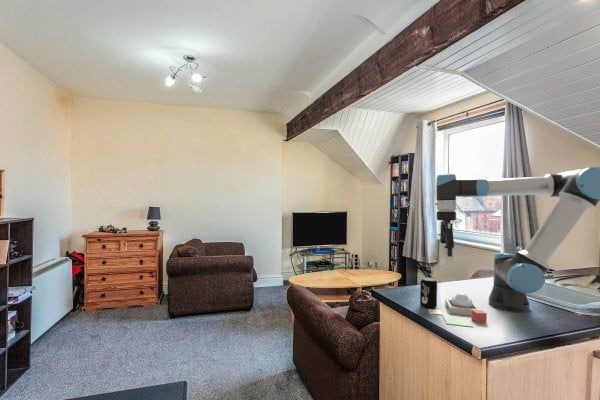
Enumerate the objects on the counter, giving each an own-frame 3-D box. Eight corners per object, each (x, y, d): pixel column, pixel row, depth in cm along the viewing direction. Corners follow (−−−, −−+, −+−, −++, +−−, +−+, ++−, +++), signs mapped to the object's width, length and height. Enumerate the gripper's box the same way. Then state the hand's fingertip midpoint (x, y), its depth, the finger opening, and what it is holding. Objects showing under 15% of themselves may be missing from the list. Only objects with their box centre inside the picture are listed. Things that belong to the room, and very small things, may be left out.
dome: (469, 303, 136) (470, 291, 136) (474, 309, 129) (474, 296, 129) (450, 301, 138) (450, 289, 138) (453, 307, 131) (453, 294, 131)
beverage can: (438, 310, 134) (438, 281, 133) (421, 308, 135) (422, 280, 135) (434, 304, 140) (435, 277, 140) (418, 303, 141) (419, 276, 141)
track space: (440, 311, 132) (440, 310, 132) (442, 315, 127) (442, 314, 127) (427, 309, 134) (427, 308, 134) (429, 313, 129) (429, 312, 129)
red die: (481, 319, 124) (481, 309, 124) (486, 323, 120) (486, 313, 120) (471, 319, 124) (472, 309, 124) (476, 322, 120) (476, 312, 120)
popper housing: (473, 307, 137) (473, 301, 137) (479, 316, 127) (479, 310, 127) (445, 304, 141) (445, 298, 141) (449, 313, 130) (449, 306, 130)
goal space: (467, 318, 124) (467, 317, 124) (473, 327, 116) (473, 326, 116) (442, 315, 127) (442, 314, 127) (446, 324, 118) (446, 323, 118)
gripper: (433, 210, 148) (433, 255, 148) (440, 211, 124) (441, 266, 124) (450, 210, 146) (451, 256, 146) (462, 211, 122) (462, 267, 122)
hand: (446, 261), depth 135 cm, fingers open, 13 cm apart
